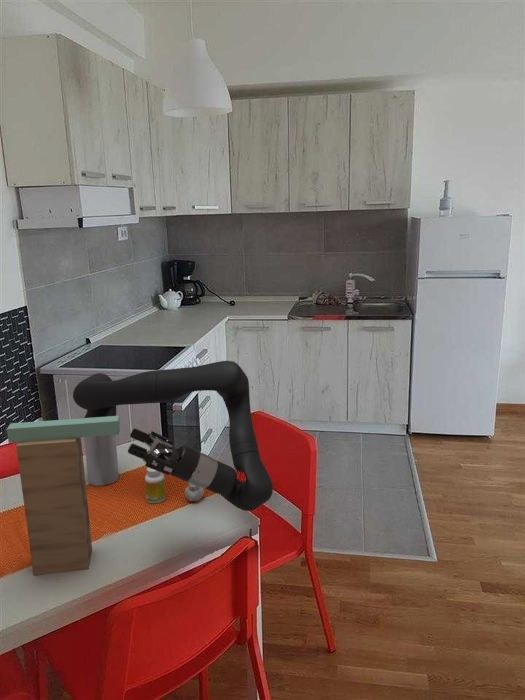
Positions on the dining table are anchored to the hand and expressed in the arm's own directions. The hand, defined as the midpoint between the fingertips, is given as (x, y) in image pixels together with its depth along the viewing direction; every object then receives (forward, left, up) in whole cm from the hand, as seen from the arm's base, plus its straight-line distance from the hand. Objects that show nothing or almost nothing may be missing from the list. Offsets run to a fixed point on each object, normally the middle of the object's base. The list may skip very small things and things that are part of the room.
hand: (130, 439), depth 120 cm
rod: (0, -14, +2) cm, 14 cm away
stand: (0, -17, -30) cm, 34 cm away
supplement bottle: (-25, +4, -30) cm, 39 cm away
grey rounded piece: (-23, +15, -30) cm, 41 cm away
